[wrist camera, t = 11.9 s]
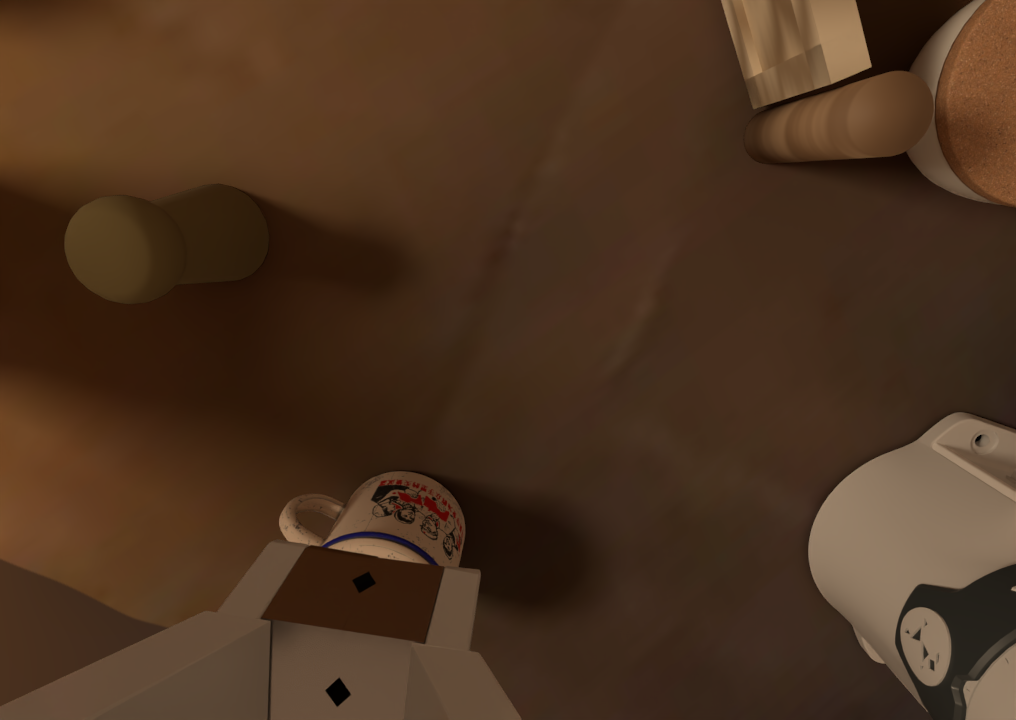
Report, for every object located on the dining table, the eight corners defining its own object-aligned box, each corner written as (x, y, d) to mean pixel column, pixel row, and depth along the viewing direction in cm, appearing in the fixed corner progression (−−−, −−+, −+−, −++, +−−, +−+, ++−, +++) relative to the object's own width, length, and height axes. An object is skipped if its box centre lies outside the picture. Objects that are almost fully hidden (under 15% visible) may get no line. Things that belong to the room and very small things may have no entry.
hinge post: (803, 111, 35) (945, 76, 23) (789, 167, 36) (918, 161, 24) (750, 104, 35) (863, 65, 23) (738, 159, 36) (839, 150, 24)
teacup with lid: (494, 509, 44) (476, 624, 32) (427, 600, 46) (390, 735, 35) (345, 419, 42) (274, 506, 31) (285, 516, 45) (198, 630, 33)
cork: (155, 218, 39) (11, 234, 29) (227, 163, 38) (105, 159, 27) (216, 298, 40) (101, 342, 30) (288, 248, 39) (194, 275, 29)
